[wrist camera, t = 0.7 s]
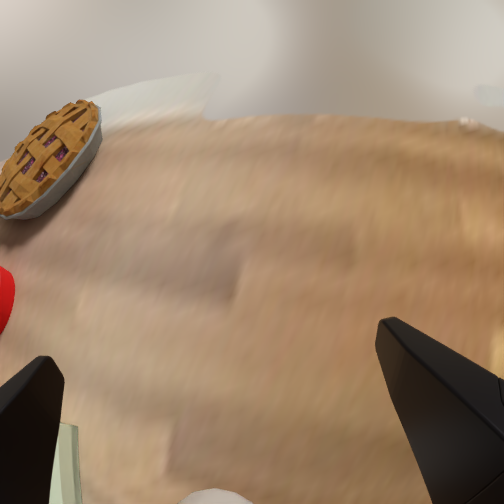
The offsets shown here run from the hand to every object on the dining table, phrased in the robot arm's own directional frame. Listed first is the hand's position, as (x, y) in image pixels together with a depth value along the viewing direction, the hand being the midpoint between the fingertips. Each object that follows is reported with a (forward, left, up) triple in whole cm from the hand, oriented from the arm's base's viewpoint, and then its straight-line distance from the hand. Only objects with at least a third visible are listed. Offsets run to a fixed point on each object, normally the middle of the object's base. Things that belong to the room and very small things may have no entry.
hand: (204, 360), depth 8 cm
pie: (+30, +31, -14) cm, 46 cm away
